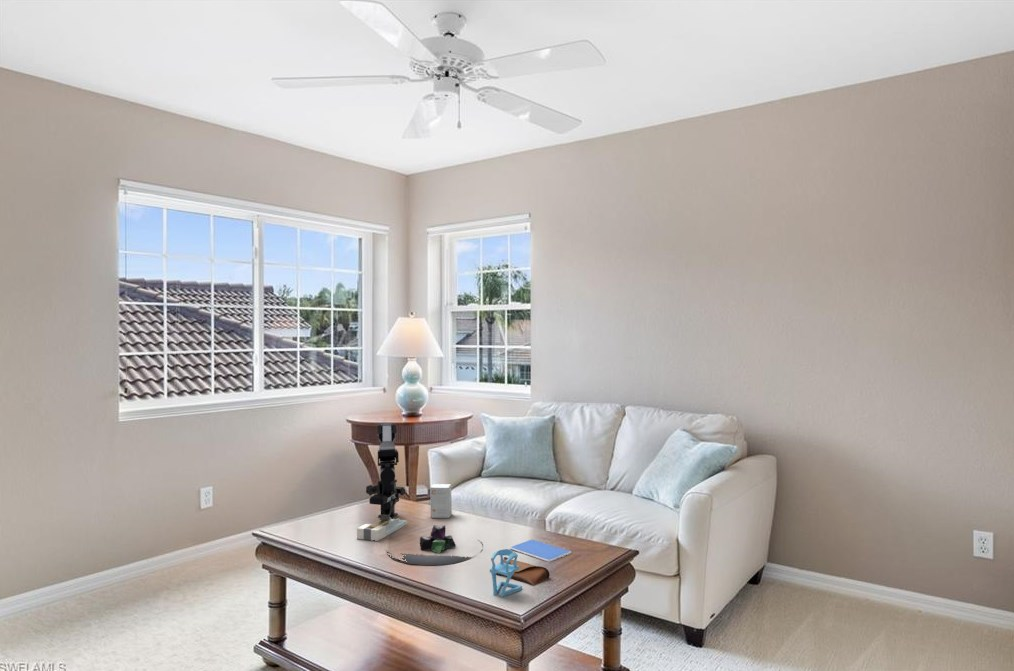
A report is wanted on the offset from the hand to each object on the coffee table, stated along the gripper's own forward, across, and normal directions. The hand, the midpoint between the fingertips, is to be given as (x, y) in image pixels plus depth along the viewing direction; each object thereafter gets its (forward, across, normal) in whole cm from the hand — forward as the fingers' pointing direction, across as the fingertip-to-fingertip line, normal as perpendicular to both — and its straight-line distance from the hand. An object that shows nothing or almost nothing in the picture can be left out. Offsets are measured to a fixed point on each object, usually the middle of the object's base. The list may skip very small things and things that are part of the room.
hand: (388, 516), depth 253 cm
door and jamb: (+5, +4, 0) cm, 6 cm away
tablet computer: (+6, +7, +66) cm, 67 cm away
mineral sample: (+6, +16, +29) cm, 33 cm away
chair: (+5, +44, +66) cm, 79 cm away
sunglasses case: (+6, +31, +66) cm, 73 cm away
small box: (+5, -22, +13) cm, 26 cm away
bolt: (+3, +6, 0) cm, 7 cm away
